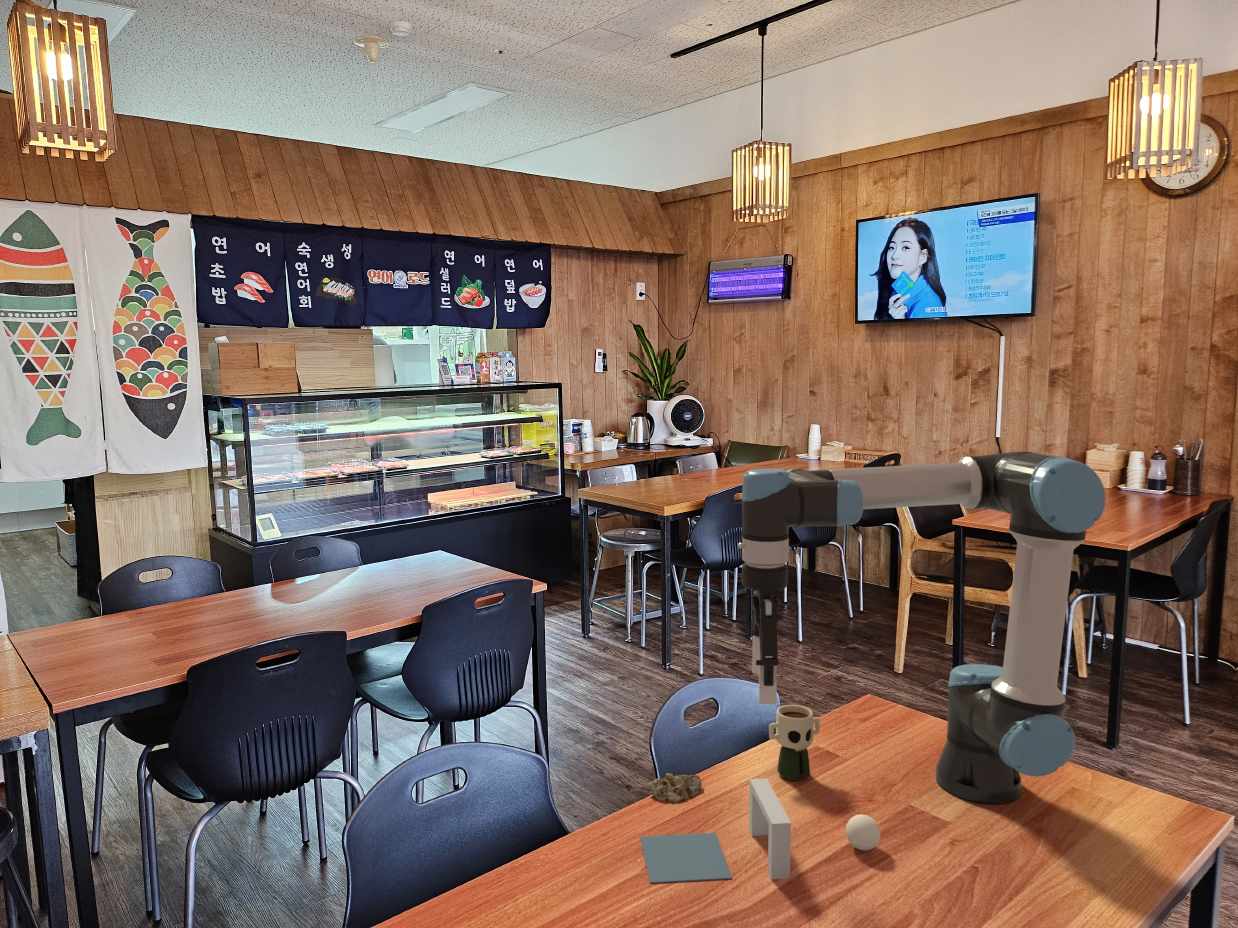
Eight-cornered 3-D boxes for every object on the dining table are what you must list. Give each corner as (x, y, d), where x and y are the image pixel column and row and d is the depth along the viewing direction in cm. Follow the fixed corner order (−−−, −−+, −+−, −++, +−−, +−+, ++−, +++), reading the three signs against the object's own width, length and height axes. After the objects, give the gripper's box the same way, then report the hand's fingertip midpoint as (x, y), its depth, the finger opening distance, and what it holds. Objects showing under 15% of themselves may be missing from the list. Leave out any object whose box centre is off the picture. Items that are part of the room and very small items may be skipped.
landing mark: (715, 833, 146) (715, 832, 146) (732, 878, 133) (732, 877, 133) (640, 837, 145) (640, 836, 145) (649, 883, 132) (649, 881, 132)
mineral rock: (658, 797, 155) (644, 767, 162) (655, 815, 156) (641, 785, 163) (712, 789, 158) (695, 760, 165) (708, 807, 160) (692, 778, 167)
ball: (872, 837, 145) (873, 807, 144) (885, 856, 139) (886, 824, 139) (840, 839, 144) (841, 808, 144) (852, 857, 139) (853, 826, 138)
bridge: (765, 828, 148) (766, 778, 147) (789, 878, 133) (791, 822, 132) (748, 829, 147) (749, 778, 146) (771, 879, 133) (772, 823, 132)
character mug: (776, 787, 162) (778, 722, 161) (760, 770, 169) (761, 707, 168) (827, 779, 165) (829, 715, 164) (809, 763, 172) (810, 701, 171)
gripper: (737, 546, 153) (736, 661, 155) (747, 581, 128) (746, 717, 130) (779, 547, 152) (778, 661, 155) (797, 582, 127) (795, 718, 130)
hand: (763, 687), depth 143 cm, fingers open, 13 cm apart
